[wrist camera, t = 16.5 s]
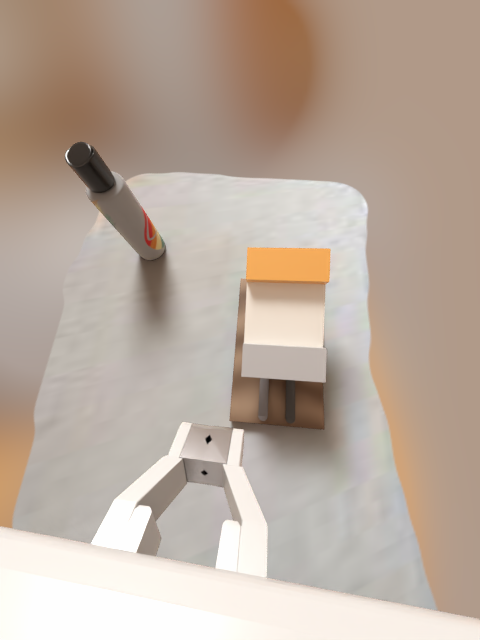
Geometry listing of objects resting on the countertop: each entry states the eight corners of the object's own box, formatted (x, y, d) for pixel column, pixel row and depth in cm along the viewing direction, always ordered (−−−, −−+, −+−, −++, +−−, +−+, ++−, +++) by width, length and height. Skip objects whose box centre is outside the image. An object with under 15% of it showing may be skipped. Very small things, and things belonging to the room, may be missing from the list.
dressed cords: (294, 423, 33) (295, 424, 32) (258, 419, 34) (257, 421, 32) (294, 337, 37) (295, 335, 35) (261, 335, 37) (261, 333, 36)
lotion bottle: (169, 239, 46) (107, 135, 27) (160, 263, 45) (88, 170, 26) (144, 235, 47) (67, 132, 28) (135, 258, 46) (46, 165, 27)
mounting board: (321, 427, 34) (324, 429, 32) (230, 419, 35) (229, 420, 34) (317, 284, 41) (319, 280, 39) (241, 282, 42) (240, 278, 41)
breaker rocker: (319, 377, 29) (325, 382, 26) (243, 372, 30) (241, 376, 27) (323, 256, 30) (330, 248, 27) (248, 254, 31) (247, 247, 28)
